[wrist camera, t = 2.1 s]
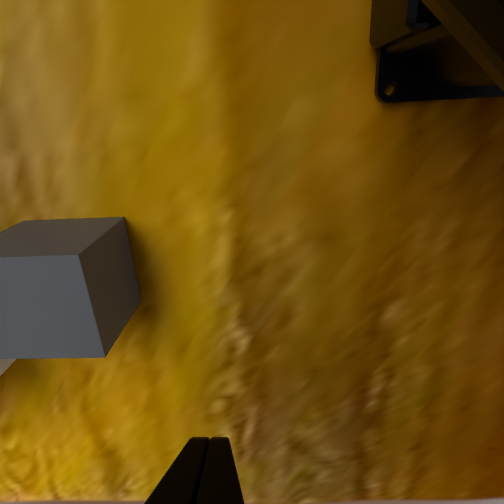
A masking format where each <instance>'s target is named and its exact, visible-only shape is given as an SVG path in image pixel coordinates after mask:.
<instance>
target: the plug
mask: <svg viewBox="0 0 504 504" xmlns="http://www.w3.org/2000/svg"><path fill="white" fill-rule="evenodd" d="M140 301H141V298H140V293H139V288H138V283H137V278H136V273H135V268H134V263H133V258H132V253H131V248H130V243H129V238H128V233H127V228H126V223H125V218H124V217H109V218H83V219H57V220H31V221H22V222H20V223H18V224H16V225H14V226H12V227H10V228H8V229H6V230H4V231H2V232H0V359H32V358H99V357H106V355H107V354H108V352H109V351H110V349H111V347H112V346H113V344H114V343H115V341H116V340H117V338H118V336H119V335H120V333H121V332H122V330H123V328H124V327H125V325H126V324H127V322H128V320H129V319H130V317H131V316H132V314H133V313H134V311H135V309H136V308H137V306H138V305H139V303H140Z"/></svg>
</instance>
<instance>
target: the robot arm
mask: <svg viewBox="0 0 504 504" xmlns="http://www.w3.org/2000/svg"><path fill="white" fill-rule="evenodd" d="M370 44H371V45H372V46H373V47H374V48H375V49H378V50H377V64H376V77H375V95H376V97H377V99H378V100H380V101H381V102H406V101H425V100H443V99H462V98H480V97H499V96H504V0H372V11H371V26H370ZM387 82H391V83H392V84H393V85H394V90H393V92H392V93H391V94H390V95H386V94H385V93H384V86H385V84H386V83H387ZM144 504H244V500H243V495H242V491H241V487H240V483H239V479H238V474H237V470H236V466H235V462H234V458H233V453H232V449H231V445H230V441H229V439H228V438H227V437H212V438H211V439H209V438H208V437H192V438H191V439H189V441H188V442H187V444H186V445H185V446H184V448H183V449H182V451H181V452H180V453H179V455H178V456H177V458H176V459H175V461H174V462H173V463H172V465H171V466H170V468H169V469H168V471H167V472H166V473H165V475H164V476H163V478H162V479H161V481H160V482H159V483H158V485H157V486H156V488H155V489H154V490H153V492H152V493H151V495H150V496H149V498H148V499H147V500H146V502H145V503H144Z"/></svg>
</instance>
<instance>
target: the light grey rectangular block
mask: <svg viewBox="0 0 504 504" xmlns="http://www.w3.org/2000/svg"><path fill="white" fill-rule="evenodd" d="M15 360H16V359H0V376H1V375H2V374H3V373H4V372H5V371H6V370H7V369H8V368H9V367H10V366H11V365H12V363H13V362H14V361H15Z"/></svg>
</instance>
